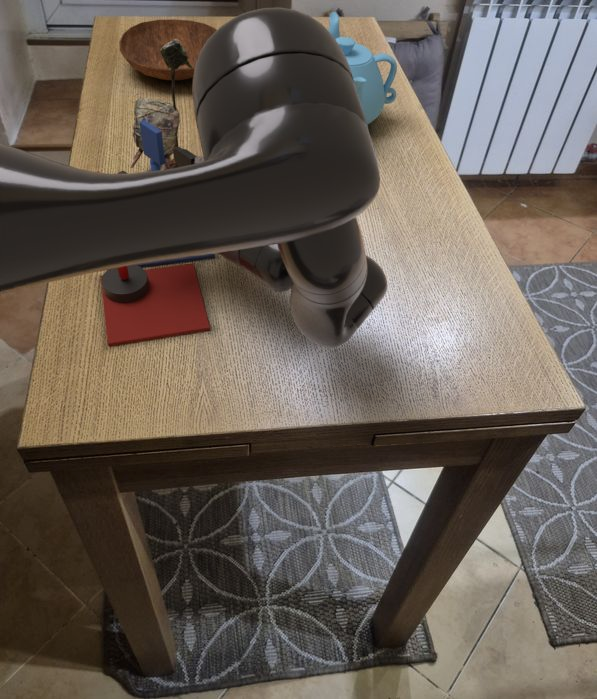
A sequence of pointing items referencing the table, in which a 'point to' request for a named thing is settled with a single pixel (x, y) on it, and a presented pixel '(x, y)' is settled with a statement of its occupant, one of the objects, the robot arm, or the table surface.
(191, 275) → the red mat
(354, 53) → the teapot
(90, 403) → the table surface
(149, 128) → the blue signpost
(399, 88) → the table surface
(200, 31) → the bowl
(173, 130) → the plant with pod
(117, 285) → the red paddle on stand
